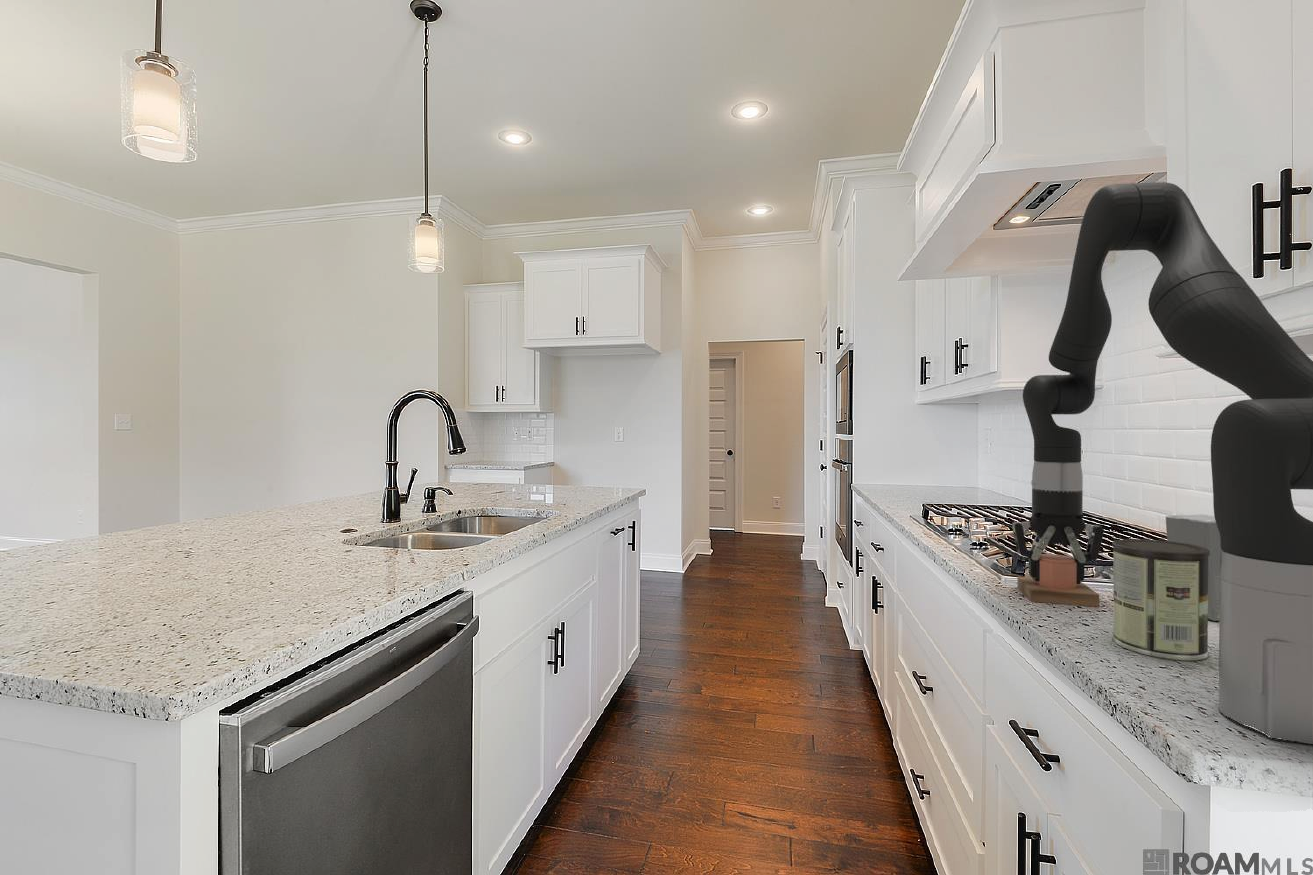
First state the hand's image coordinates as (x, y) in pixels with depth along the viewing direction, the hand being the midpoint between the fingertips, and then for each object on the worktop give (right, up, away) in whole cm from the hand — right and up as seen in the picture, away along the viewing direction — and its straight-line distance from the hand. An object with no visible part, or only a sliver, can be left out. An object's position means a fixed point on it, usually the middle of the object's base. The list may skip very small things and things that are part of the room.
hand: (1056, 581), depth 108 cm
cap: (0, -1, 0) cm, 1 cm away
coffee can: (-2, -3, -25) cm, 25 cm away
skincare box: (+18, -3, -10) cm, 21 cm away
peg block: (0, -3, 0) cm, 3 cm away
